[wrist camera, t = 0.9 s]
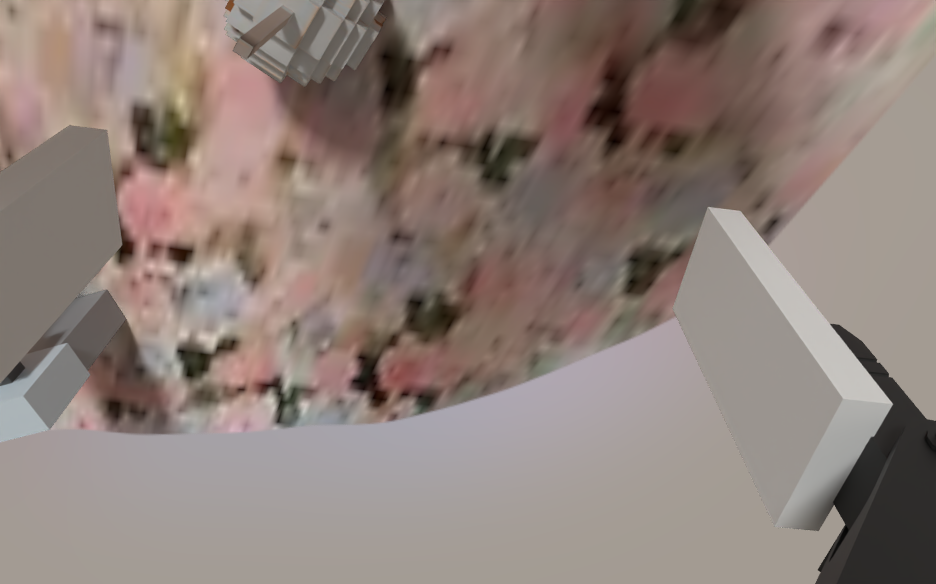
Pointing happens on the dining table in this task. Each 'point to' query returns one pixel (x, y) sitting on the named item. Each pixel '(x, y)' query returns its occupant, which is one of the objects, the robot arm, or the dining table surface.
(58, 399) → the rod fixture
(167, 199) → the dining table surface
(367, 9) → the candy apple
